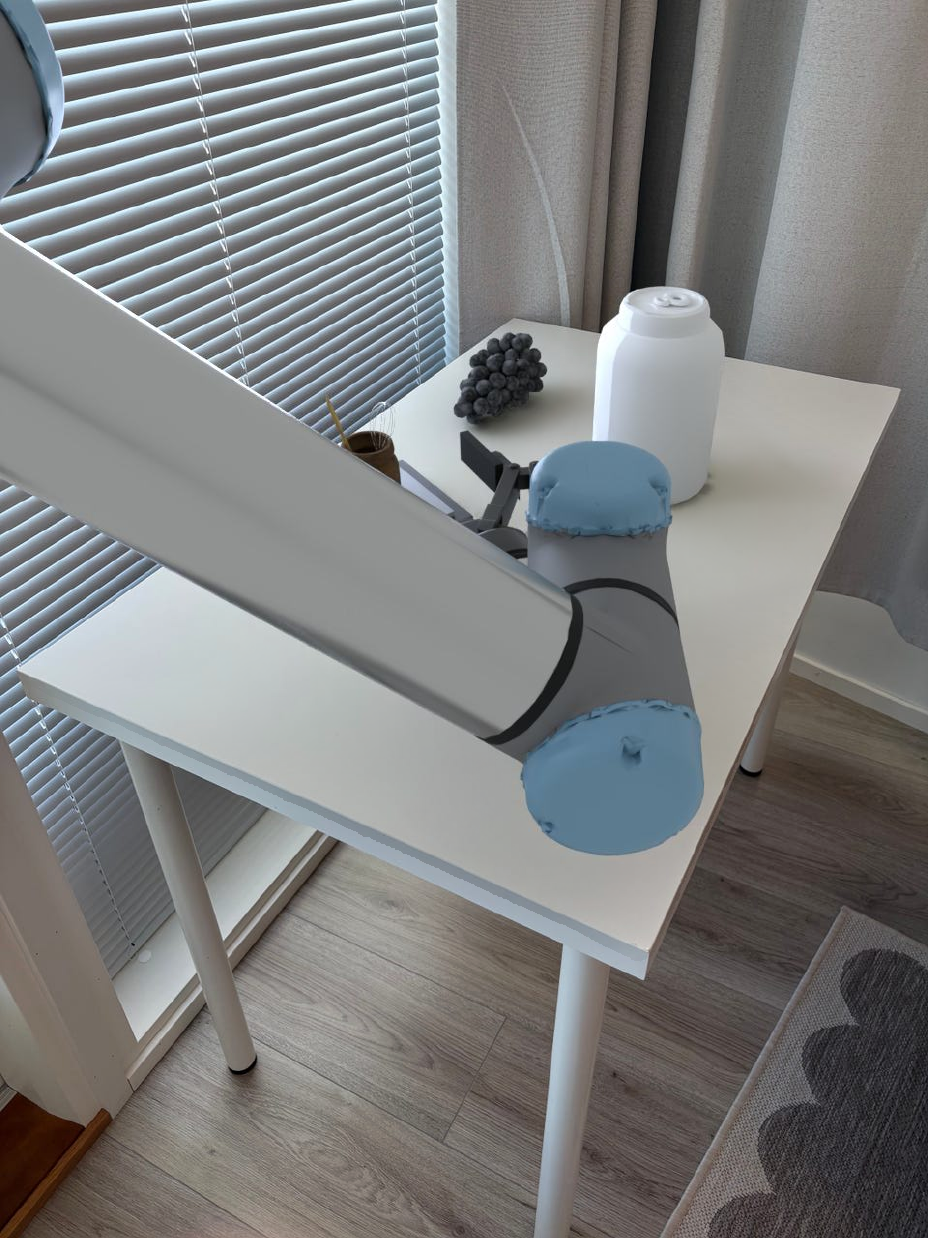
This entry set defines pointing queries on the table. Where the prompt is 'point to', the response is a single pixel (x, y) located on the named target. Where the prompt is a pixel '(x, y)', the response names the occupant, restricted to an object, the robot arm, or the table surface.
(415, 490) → the scale
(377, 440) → the utensil holder
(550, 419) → the table surface
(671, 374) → the can
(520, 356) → the fruit
